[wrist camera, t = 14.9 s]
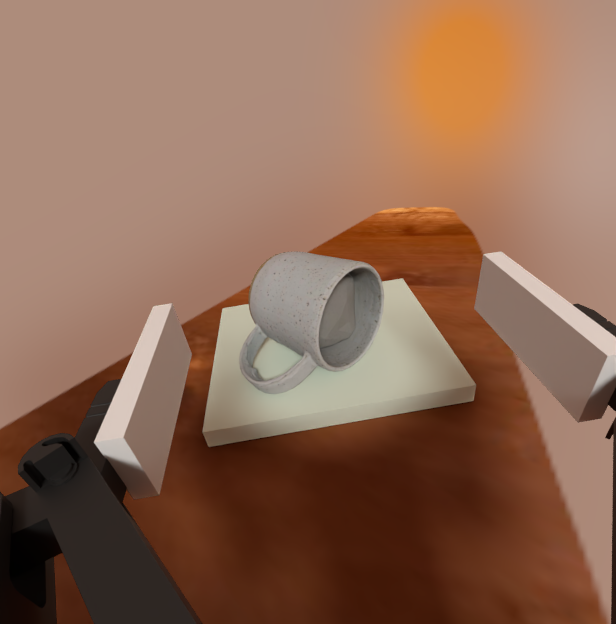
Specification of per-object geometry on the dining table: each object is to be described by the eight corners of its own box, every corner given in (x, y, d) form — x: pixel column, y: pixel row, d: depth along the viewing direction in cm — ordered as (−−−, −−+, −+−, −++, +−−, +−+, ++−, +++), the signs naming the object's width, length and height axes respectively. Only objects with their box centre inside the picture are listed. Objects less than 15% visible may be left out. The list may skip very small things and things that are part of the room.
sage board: (208, 447, 24) (202, 432, 24) (226, 320, 37) (222, 308, 36) (473, 400, 25) (476, 384, 24) (402, 291, 37) (402, 278, 37)
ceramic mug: (311, 306, 34) (298, 228, 30) (387, 335, 29) (385, 246, 25) (221, 373, 28) (189, 288, 24) (297, 423, 23) (273, 327, 19)
